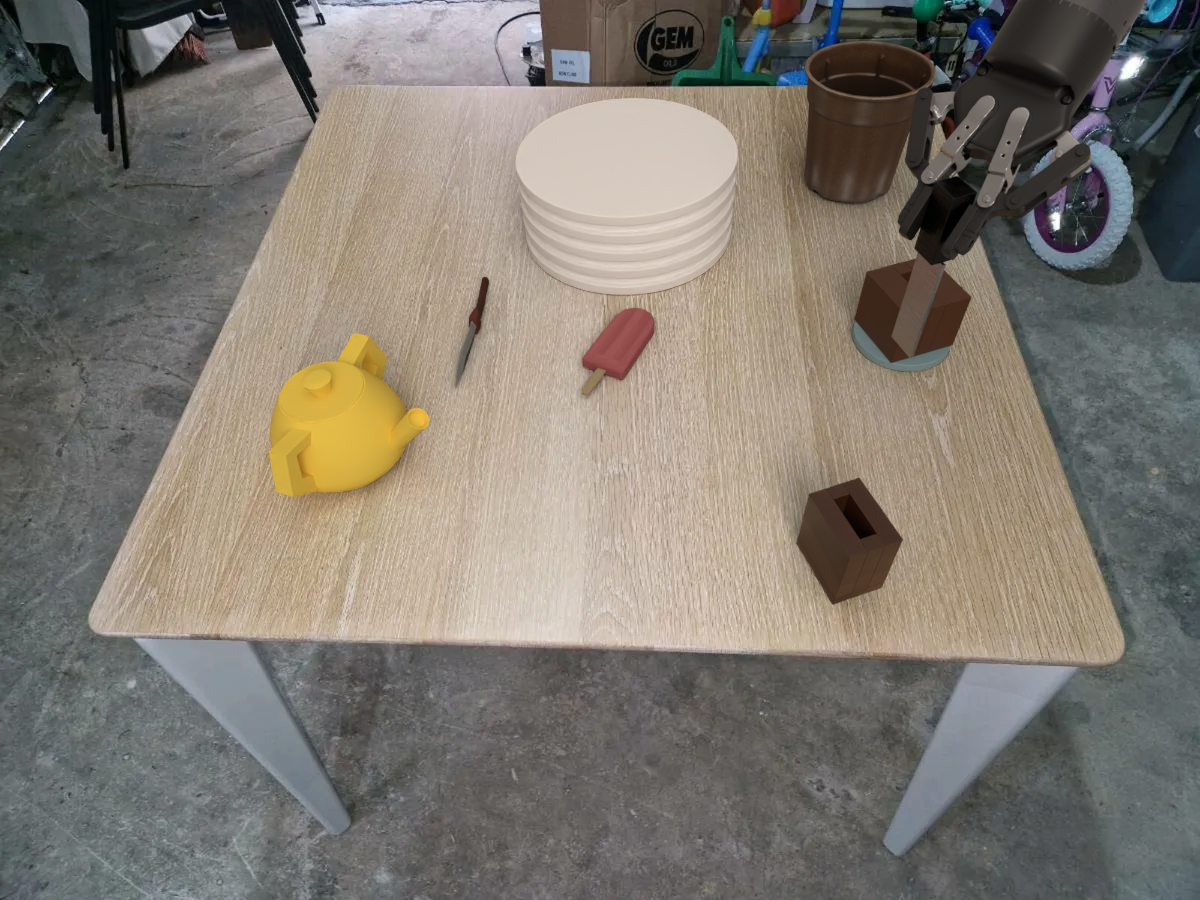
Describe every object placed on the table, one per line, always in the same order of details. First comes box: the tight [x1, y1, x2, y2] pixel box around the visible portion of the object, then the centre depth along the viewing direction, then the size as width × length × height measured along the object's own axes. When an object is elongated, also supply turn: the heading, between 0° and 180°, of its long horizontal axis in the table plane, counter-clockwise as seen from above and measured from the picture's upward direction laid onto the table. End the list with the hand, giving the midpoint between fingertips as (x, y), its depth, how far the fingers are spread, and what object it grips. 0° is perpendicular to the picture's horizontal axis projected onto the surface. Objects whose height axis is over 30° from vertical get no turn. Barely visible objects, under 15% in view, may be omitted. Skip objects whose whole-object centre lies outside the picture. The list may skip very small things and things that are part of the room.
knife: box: [454, 276, 490, 389], centre depth 95 cm, size 18×2×3 cm, turn 173°
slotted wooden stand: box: [851, 258, 972, 373], centre depth 90 cm, size 11×11×8 cm
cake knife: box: [891, 175, 978, 358], centre depth 64 cm, size 2×3×16 cm, turn 19°
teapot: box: [267, 332, 431, 498], centre depth 81 cm, size 20×18×11 cm
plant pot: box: [804, 40, 937, 204], centre depth 108 cm, size 16×16×16 cm
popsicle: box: [580, 307, 656, 396], centre depth 93 cm, size 5×2×15 cm
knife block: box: [795, 477, 904, 605], centre depth 71 cm, size 5×7×8 cm
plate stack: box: [515, 97, 739, 296], centre depth 105 cm, size 28×28×12 cm
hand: (926, 245), depth 60 cm, fingers closed on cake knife, 3 cm apart
